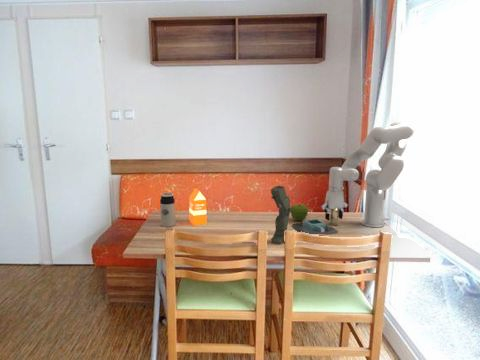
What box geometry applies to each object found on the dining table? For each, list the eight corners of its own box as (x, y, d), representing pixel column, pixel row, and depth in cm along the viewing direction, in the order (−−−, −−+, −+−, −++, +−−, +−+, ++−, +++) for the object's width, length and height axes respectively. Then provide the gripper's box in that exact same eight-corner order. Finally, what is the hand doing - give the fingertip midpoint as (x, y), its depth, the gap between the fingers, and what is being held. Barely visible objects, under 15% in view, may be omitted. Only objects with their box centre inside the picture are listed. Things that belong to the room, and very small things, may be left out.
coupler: (334, 223, 210) (335, 206, 208) (339, 225, 205) (340, 208, 203) (327, 223, 208) (328, 207, 206) (332, 226, 204) (333, 209, 202)
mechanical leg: (284, 232, 191) (278, 180, 180) (296, 235, 186) (290, 182, 175) (270, 245, 181) (262, 191, 170) (282, 249, 177) (275, 194, 166)
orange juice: (193, 225, 204) (193, 191, 200) (189, 221, 212) (188, 188, 208) (206, 224, 208) (206, 190, 204) (202, 219, 215) (201, 187, 212)
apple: (305, 217, 220) (306, 201, 218) (309, 222, 210) (310, 206, 208) (288, 217, 220) (288, 201, 218) (291, 223, 210) (291, 206, 208)
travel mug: (167, 222, 211) (165, 192, 207) (178, 224, 207) (177, 193, 204) (158, 226, 204) (156, 195, 200) (169, 228, 200) (168, 196, 197)
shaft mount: (319, 223, 209) (320, 215, 209) (337, 233, 193) (338, 225, 192) (291, 226, 204) (292, 218, 203) (307, 236, 187) (307, 228, 186)
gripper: (344, 186, 209) (343, 215, 212) (318, 188, 203) (317, 218, 207) (352, 189, 202) (350, 219, 205) (325, 191, 196) (324, 222, 200)
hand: (333, 218), depth 206 cm, fingers open, 7 cm apart
